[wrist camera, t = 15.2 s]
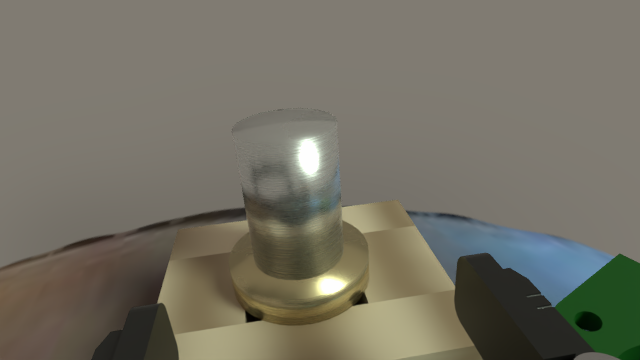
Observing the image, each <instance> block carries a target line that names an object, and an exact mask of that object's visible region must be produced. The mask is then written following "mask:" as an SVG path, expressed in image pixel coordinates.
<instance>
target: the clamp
mask: <svg viewBox="0 0 640 360" xmlns="http://www.w3.org/2000/svg"><path fill="white" fill-rule="evenodd" d="M555 309H556V310H557V311H558V312H559V313H560V314H561V315H562V316H563V317H564V318H565V319H566V320H567V321H568V323H569V324H570V325H571V326H572V327H573V328H574V329H575V330H576V331H577V332H578V333H579V334H580V336H581V337H582V338H583V339H584V340H585V341H586V342H587V343H588V344H589V345H590V346H591V347H592V348H593V350H594V351H595V352H596V353H603V354H607V355H610V356H613V357H616V358H618V359H620V360H640V263H638V262H636V261H634V260H632V259H630V258H628V257H626V256H623V255H621V254H619V255H617V256H616V257H615V258H614V259H612V260H611V261H610V262H609V263H607V264H606V265H605V266H604V267H602V268H601V269H600V270H599V271H597V272H596V273H595V274H594V275H593V276H591V277H590V278H589V279H588V280H586V281H585V282H584V283H583V284H581V285H580V286H579V287H578V288H576V289H575V290H574V291H573V292H572V293H570V294H569V295H568V296H567V297H565V298H564V299H563V300H562V301H560V302H559V303H558V304H557V305H556V306H555ZM583 329H585V330H589V331H585V330H583Z"/></svg>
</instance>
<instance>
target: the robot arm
mask: <svg viewBox="0 0 640 360" xmlns="http://www.w3.org/2000/svg"><path fill="white" fill-rule="evenodd" d="M454 304H455V310H456V313H457V316H458V319H459V321H460V323H461V324H462V326H463V328H464V329H465V331H466V333H467V334H468V336H469V337H470V339H471V341H472V342H473V344H474V346H475V347H476V349H477V351H478V352H479V354H480V355H481V357H482V359H483V360H620V359H618V358H616V357H613V356H610V355H607V354H603V353H596V352H595V351H594V350H593V348H592V347H591V346H590V345H589V344H588V343H587V342H586V341H585V340H584V339H583V338H582V337H581V336H580V334H579V333H578V332H577V331H576V330H575V329H574V328H573V327H572V326H571V325H570V324H569V323H568V321H567V320H566V319H565V318H564V317H563V316H562V315H561V314H560V313H559V312H558V311H557V310H556V309H555V307H552V305H551V303H550V302H549V301H548V300H547V299H546V298H545V297H544V296H542V295H541V292H540V291H539V290H538V289H537V288H536V287H535V286H534V285H533V284H532V283H531V282H530V280H529V279H527V278H526V277H524V276H522V275H521V274H519V273H517V272H516V271H514V270H512V269H511V268H507V269H502V268H501V266H500V265H499V264H498V263H497V262H496V261H495V260H494V258H493V257H492V256H491V255H490V254H488V253H481V254H474V255H468V256H462V257H460V258H459V259H458V262H457V272H456V284H455V295H454ZM91 360H179V353H178V346H177V342H176V339H175V336H174V333H173V329H172V326H171V323H170V320H169V316H168V313H167V310H166V307H165V305H164V304H163V303H157V304H151V305H145V306H138V307H133V308H131V310H130V311H129V314H128V317H127V320H126V322H125V325H124V328H123V330H119V331H113V332H110V333H109V335H108V336H107V337H106V338H105V339H104V340H103V342H102V343H101V344H100V345H99V346H98V347H97V348H96V350H95V352H94V355H93V357H92V359H91Z"/></svg>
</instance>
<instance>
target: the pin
mask: <svg viewBox="0 0 640 360" xmlns="http://www.w3.org/2000/svg"><path fill="white" fill-rule="evenodd" d="M232 134H233V140H234V146H235V151H236V157H237V163H238V169H239V175H240V181H241V186H242V192H243V198H244V204H245V210H246V216H247V222H248V227H249V232H248V233H246V234H245V235H244V236H243V237H242V238H240V239H239V241H238V242H237V243H236V244H235V246H234V247H233V249H232V251H231V253H230V257H229V269H230V274H231V279H232V283H233V288H234V293H235V296H236V299H237V301H238V303H239V304H240V305H241V306H242V308H243V309H244V310H246V311H247V312H248V313H249V314H251V315H252V316H254V317H256V318H258V319H260V320H263V321H266V322H269V323H273V324H278V325H287V326H300V325H309V324H314V323H319V322H322V321H326V320H329V319H331V318H333V317H336V316H338V315H340V314H342V313H343V312H345V311H347V310H348V309H349V308H351V307H352V306H353V305H354V304H355V303H356V302H357V301H359V299H360V298H361V297H362V295H363V294H364V292H365V290H366V289H367V286H368V283H369V248H368V243H367V240H366V239H365V237H364V235H363V234H362V233H361V232H360V231H359V230H358V229H357V228H356V227H354V226H353V225H351V224H349V223H347V222H345V221H343V220H342V207H341V189H340V172H339V171H340V170H339V152H338V135H337V134H338V133H337V120H336V118H335V117H334V116H333V115H332V114H329V113H328V112H325V111H320V110H315V109H303V108H293V109H280V110H273V111H268V112H263V113H259V114H256V115H252V116H250V117H247V118H245V119H243V120H241V121H239V122H238V123H237V124H235V125H234V127H233V129H232Z"/></svg>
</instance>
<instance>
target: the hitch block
mask: <svg viewBox="0 0 640 360" xmlns="http://www.w3.org/2000/svg"><path fill="white" fill-rule="evenodd" d="M342 220H343V221H345V222H347V223H349V224H351V225H353V226H354V227H356V228H357V229H358V230H359V231H360V232H361V233H362V234H363V235H364V237H365V239H366V240H367V243H368V248H369V283H368V286H367V289H366V290H365V292H364V294H363V295H362V297H361V298H360V299H359V301H357V302H356V303H355V304H354V305H353V306H352V307H351V308H349V309H348V310H347V311H345V312H343V313H342V314H340V315H338V316H336V317H333V318H331V319H329V320H326V321H322V322H319V323H314V324H309V325H300V326H287V325H278V324H273V323H269V322H266V321H263V320H260V319H258V318H256V317H254V316H252V315H251V314H249V313H248V312H247V311H246V310H244V309H243V308H242V306H241V305H240V304H239V303H238V301H237V299H236V296H235V293H234V288H233V283H232V279H231V274H230V269H229V257H230V253H231V251H232V249H233V247H234V246H235V244H236V243H237V242H238V241H239V239H240V238H242V237H243V236H244V235H245V234H246V233H248V232H249V227H248V222H247V220H245V221H238V222H231V223H223V224H216V225H209V226H201V227H194V228H187V229H179V230H178V232H177V236H176V239H175V243H174V246H173V250H172V253H171V257H170V260H169V264H168V267H167V271H166V274H165V278H164V281H163V285H162V288H161V292H160V295H159V299H158V302H157V303H163V304H164V305H165V307H166V310H167V313H168V316H169V320H170V323H171V326H172V329H173V333H174V336H175V339H176V342H177V346H178V353H179V360H483V359H482V357H481V355H480V354H479V352H478V351H477V349H476V347H475V346H474V344H473V342H472V341H471V339H470V337H469V336H468V334H467V333H466V331H465V329H464V328H463V326H462V324H461V323H460V321H459V319H458V316H457V313H456V310H455V304H454V295H455V286H454V284H453V283H452V281H451V280H450V278H449V277H448V275H447V273H446V272H445V270H444V269H443V267H442V266H441V264H440V263H439V261H438V260H437V258H436V257H435V255H434V254H433V252H432V251H431V249H430V248H429V246H428V245H427V243H426V242H425V240H424V239H423V237H422V235H421V234H420V232H419V231H418V229H417V228H416V226H415V225H414V223H413V222H412V220H411V219H410V217H409V216H408V214H407V213H406V211H405V210H404V208H403V207H402V205H401V204H400V202H399V201H398V200H392V201H385V202H378V203H370V204H363V205H356V206H348V207H342Z"/></svg>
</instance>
